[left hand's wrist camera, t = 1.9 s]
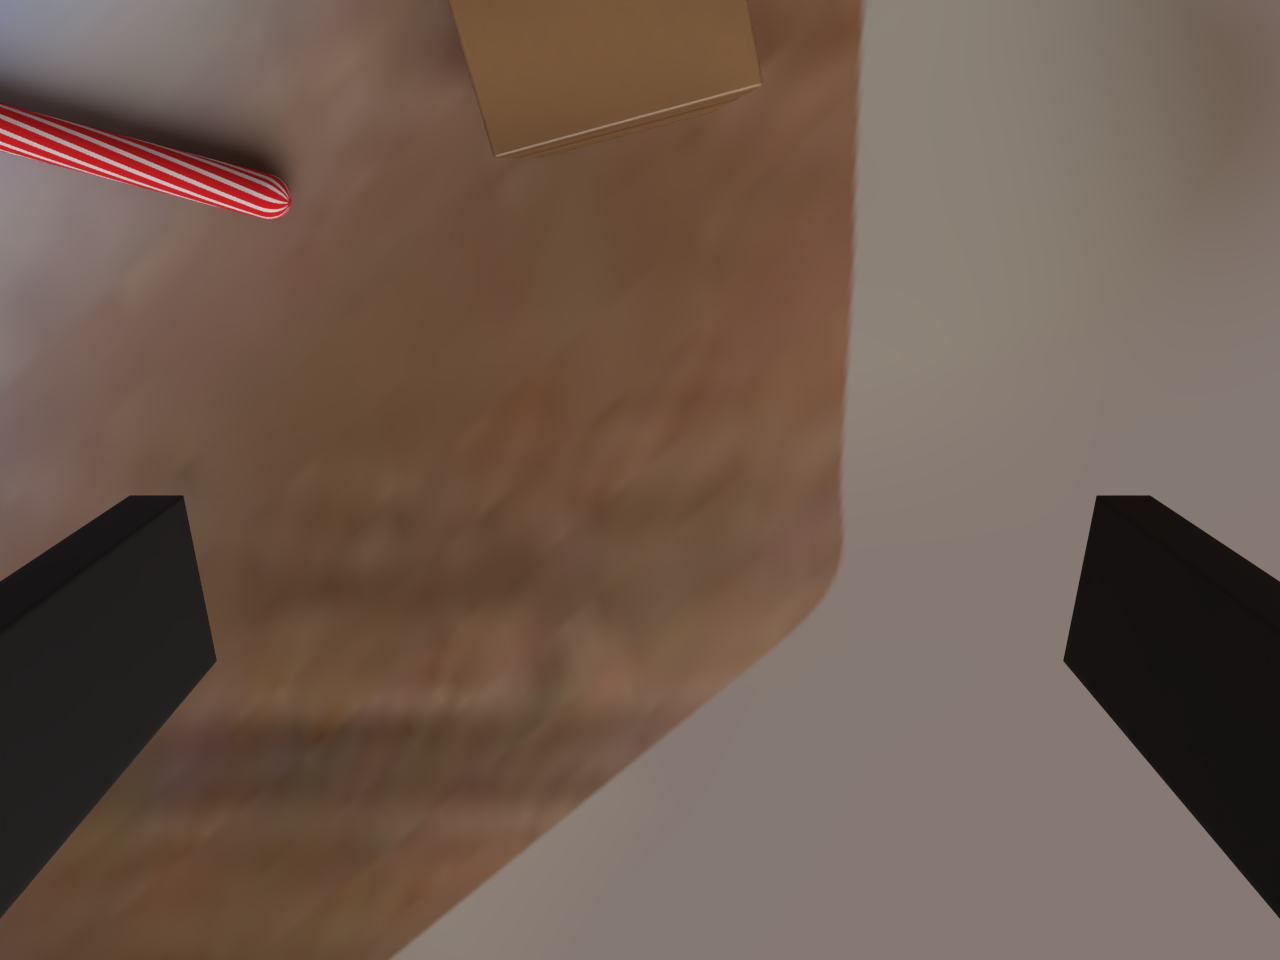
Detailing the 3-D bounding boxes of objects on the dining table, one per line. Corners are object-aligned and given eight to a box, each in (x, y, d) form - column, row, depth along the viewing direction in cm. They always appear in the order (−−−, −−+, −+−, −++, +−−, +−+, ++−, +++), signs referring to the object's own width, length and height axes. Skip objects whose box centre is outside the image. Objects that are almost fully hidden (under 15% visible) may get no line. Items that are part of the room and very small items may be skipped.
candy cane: (282, 357, 29) (265, 368, 28) (-186, 248, 28) (-229, 253, 26) (301, 175, 27) (284, 177, 26) (-204, 47, 26) (-251, 41, 24)
